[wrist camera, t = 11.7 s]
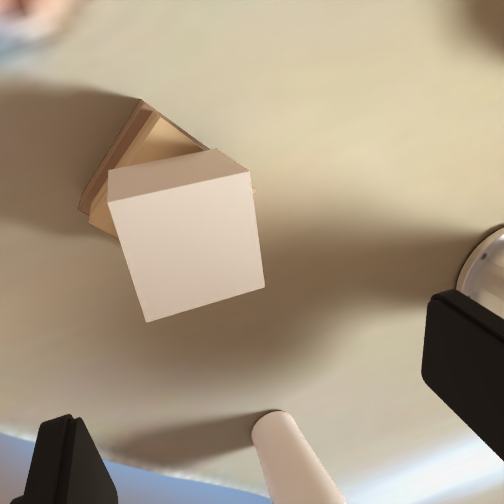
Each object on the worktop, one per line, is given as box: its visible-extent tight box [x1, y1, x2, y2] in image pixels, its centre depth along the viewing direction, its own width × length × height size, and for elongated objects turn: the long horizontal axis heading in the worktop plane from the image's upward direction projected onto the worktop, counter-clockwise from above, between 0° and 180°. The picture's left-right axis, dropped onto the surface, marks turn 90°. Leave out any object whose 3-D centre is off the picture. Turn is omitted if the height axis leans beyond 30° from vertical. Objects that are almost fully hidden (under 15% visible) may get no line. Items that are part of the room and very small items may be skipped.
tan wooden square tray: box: [78, 99, 210, 216], centre depth 27 cm, size 8×8×4 cm
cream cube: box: [107, 148, 265, 323], centre depth 20 cm, size 6×6×6 cm
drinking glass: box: [252, 411, 347, 504], centre depth 38 cm, size 7×7×15 cm
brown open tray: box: [89, 111, 257, 239], centre depth 24 cm, size 7×7×4 cm
